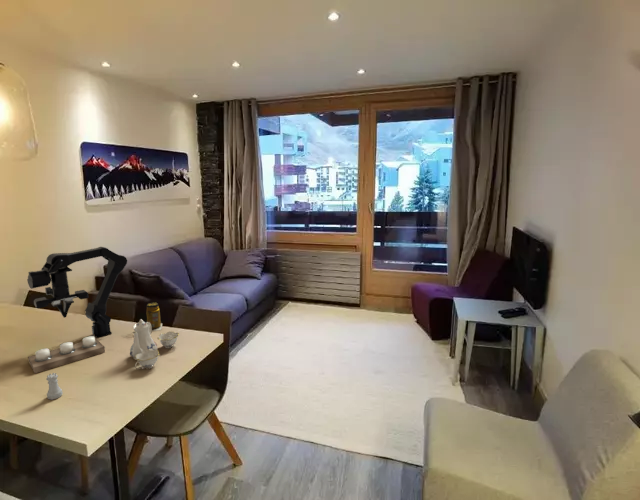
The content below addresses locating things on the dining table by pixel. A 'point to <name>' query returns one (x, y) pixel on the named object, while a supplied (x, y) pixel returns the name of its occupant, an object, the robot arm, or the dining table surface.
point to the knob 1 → (42, 354)
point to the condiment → (154, 316)
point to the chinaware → (148, 344)
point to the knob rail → (65, 356)
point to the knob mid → (66, 347)
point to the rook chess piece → (53, 387)
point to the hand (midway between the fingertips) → (64, 317)
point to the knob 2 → (88, 341)
